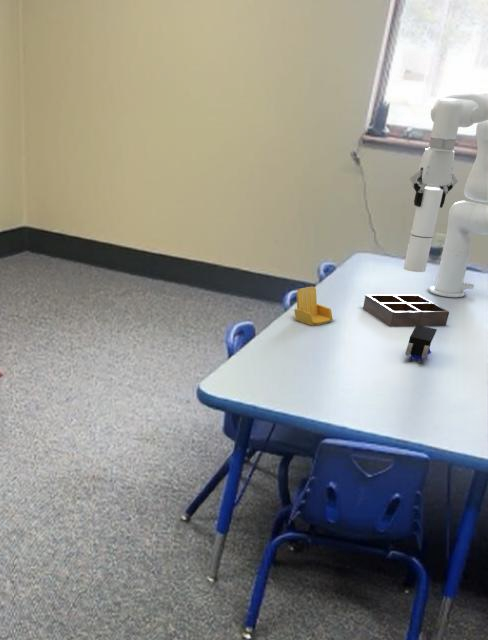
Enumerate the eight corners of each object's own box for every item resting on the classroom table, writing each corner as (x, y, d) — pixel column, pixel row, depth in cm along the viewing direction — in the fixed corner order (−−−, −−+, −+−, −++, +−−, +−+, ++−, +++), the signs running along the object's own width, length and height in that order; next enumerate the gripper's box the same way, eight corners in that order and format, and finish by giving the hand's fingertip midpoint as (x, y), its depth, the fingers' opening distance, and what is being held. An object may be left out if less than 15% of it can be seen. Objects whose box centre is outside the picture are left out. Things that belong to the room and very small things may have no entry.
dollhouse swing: (312, 326, 250) (317, 296, 245) (290, 318, 256) (294, 289, 251) (334, 321, 257) (339, 292, 252) (311, 313, 262) (315, 285, 257)
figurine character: (425, 371, 225) (432, 350, 236) (431, 345, 221) (438, 326, 232) (401, 366, 227) (409, 346, 238) (406, 341, 223) (415, 322, 234)
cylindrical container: (423, 268, 271) (441, 187, 258) (426, 272, 265) (445, 191, 252) (402, 266, 272) (419, 185, 259) (405, 270, 266) (422, 188, 252)
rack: (415, 308, 277) (418, 294, 275) (445, 325, 261) (449, 311, 259) (362, 308, 273) (365, 294, 270) (390, 326, 256) (393, 311, 254)
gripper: (460, 145, 254) (446, 205, 263) (410, 142, 250) (398, 203, 259) (472, 148, 248) (458, 209, 257) (422, 144, 244) (409, 207, 253)
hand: (428, 205), depth 258 cm, fingers closed on cylindrical container, 7 cm apart
